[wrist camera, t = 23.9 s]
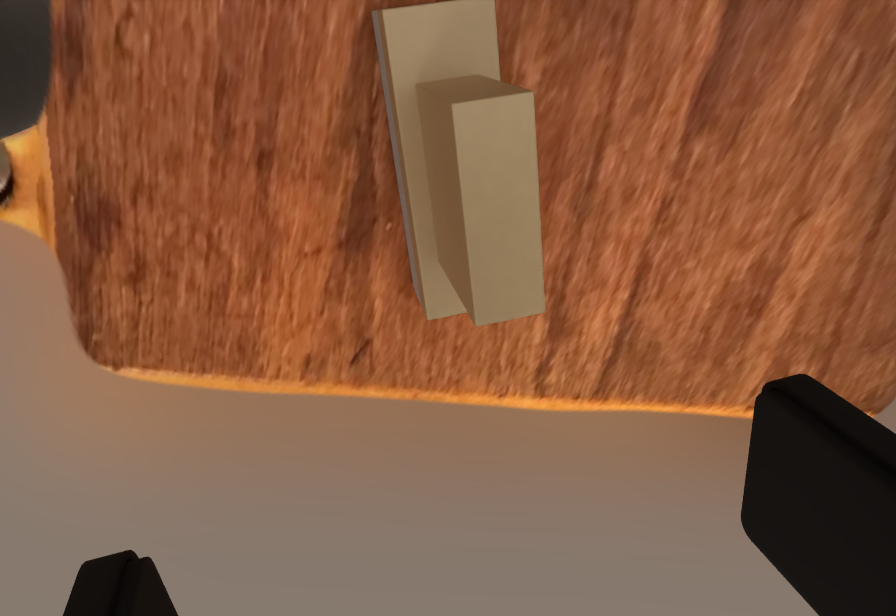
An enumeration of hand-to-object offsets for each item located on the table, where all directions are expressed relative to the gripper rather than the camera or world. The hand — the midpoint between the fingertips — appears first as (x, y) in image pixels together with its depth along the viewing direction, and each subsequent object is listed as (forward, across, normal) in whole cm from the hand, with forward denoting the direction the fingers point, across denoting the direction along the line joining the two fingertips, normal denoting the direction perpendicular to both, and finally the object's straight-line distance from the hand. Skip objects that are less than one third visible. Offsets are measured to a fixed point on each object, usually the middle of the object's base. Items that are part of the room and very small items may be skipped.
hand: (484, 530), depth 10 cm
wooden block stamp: (+20, -4, -1) cm, 20 cm away
